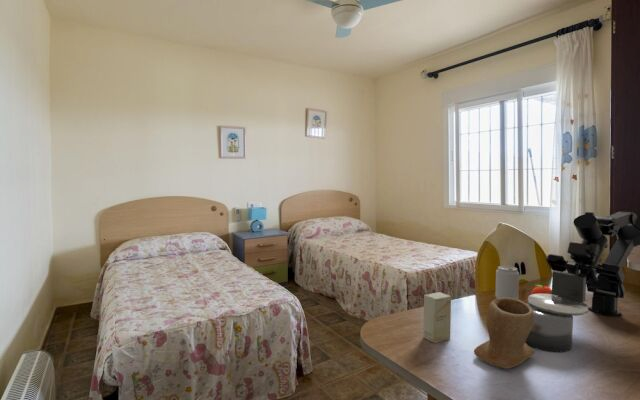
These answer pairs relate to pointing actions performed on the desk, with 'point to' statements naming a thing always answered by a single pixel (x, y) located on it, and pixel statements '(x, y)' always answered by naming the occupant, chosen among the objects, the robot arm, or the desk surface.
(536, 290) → the clementine
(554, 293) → the lid
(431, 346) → the desk surface
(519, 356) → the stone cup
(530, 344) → the pot
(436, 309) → the skincare box
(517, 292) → the can
